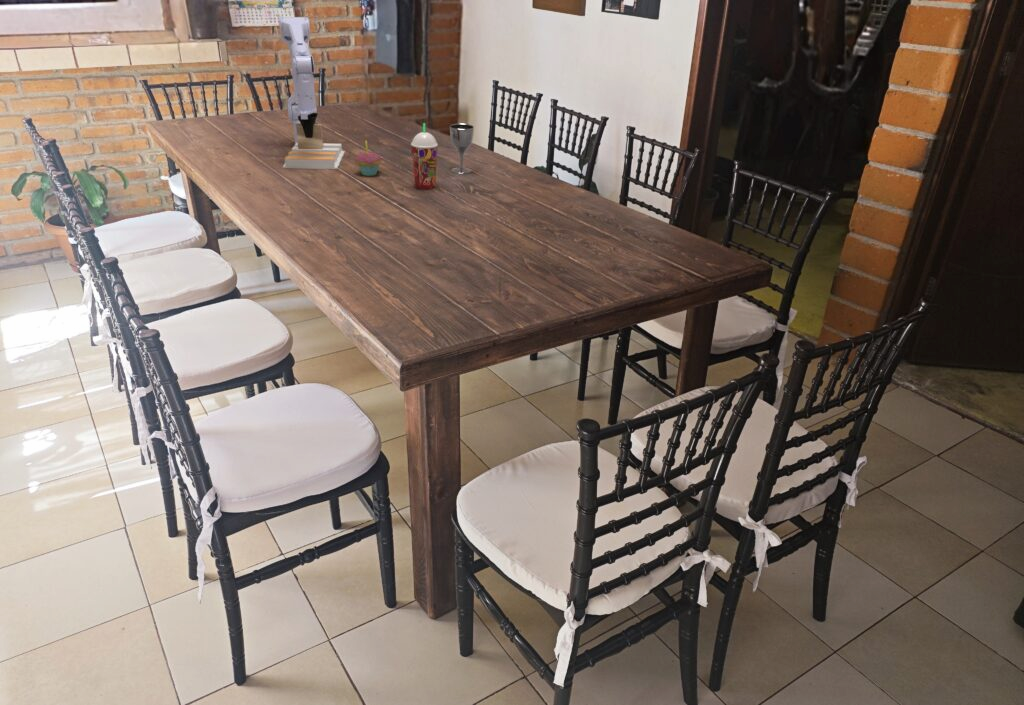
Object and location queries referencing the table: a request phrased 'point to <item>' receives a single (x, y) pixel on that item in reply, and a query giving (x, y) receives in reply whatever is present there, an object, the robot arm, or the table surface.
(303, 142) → the block
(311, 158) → the rack
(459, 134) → the wine glass
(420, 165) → the smoothie
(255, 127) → the table surface
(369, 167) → the cupcake
